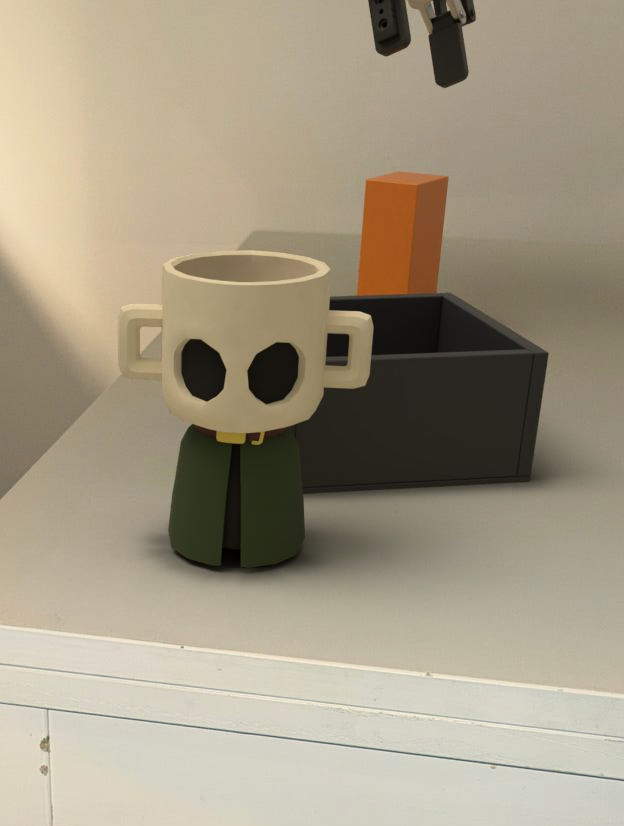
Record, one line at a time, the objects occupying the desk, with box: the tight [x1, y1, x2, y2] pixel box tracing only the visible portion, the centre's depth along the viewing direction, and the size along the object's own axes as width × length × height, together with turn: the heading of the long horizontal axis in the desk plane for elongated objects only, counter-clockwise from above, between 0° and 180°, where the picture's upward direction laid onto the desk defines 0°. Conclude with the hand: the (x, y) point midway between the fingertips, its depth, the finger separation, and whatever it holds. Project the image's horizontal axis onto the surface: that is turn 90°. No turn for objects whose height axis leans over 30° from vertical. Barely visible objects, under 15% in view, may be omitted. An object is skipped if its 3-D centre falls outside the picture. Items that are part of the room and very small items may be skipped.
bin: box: [289, 292, 550, 495], centre depth 72 cm, size 14×14×7 cm
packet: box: [356, 170, 450, 296], centre depth 94 cm, size 5×4×11 cm
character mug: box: [117, 249, 373, 569], centre depth 58 cm, size 11×7×13 cm, turn 82°
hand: (424, 67), depth 87 cm, fingers open, 8 cm apart
